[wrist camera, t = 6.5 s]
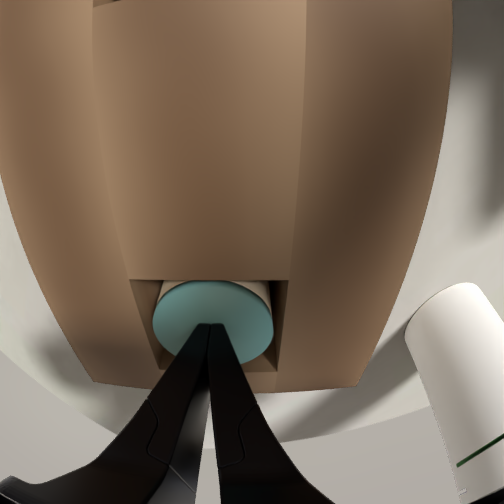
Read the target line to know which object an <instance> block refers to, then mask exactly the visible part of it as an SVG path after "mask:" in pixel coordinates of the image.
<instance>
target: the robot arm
mask: <svg viewBox="0 0 504 504" xmlns="http://www.w3.org/2000/svg"><path fill="white" fill-rule="evenodd" d="M147 399H148V400H147ZM147 399H146V400H145V401H144V403H143V404H142V406H141V407H140V408H139V410H138V411H137V413H136V414H135V415H134V417H133V418H132V419H131V420H130V422H129V423H128V424H127V425H126V426H125V428H124V429H123V430H122V431H121V432H120V433H119V434H118V435H117V437H116V438H115V439H114V440H113V441H112V442H111V443H110V444H109V445H108V446H107V448H106V449H105V450H104V451H103V452H102V453H101V454H100V455H99V456H98V457H97V458H96V459H95V460H94V461H92V462H91V463H89V464H87V465H86V466H84V467H81V468H79V469H77V470H75V471H72V472H70V473H67V474H65V475H62V476H60V477H58V478H55V479H53V480H50V481H48V482H44V483H41V484H29V483H27V482H24V481H22V480H20V479H18V478H16V477H14V476H9V477H7V478H6V479H4V480H3V481H1V482H0V504H195V498H196V491H197V483H198V476H199V469H200V462H201V455H202V448H203V441H204V435H205V428H206V421H207V415H208V408H209V402H210V400H211V411H212V421H213V431H214V441H215V449H216V459H217V467H218V474H219V484H220V498H221V504H335V503H334V502H332V501H331V500H330V499H329V498H327V497H326V496H325V495H324V494H322V493H321V492H320V491H319V490H317V489H316V488H315V487H314V486H313V485H312V484H311V483H309V482H308V481H307V480H306V478H304V476H303V475H302V474H301V473H300V471H299V470H298V469H297V468H296V466H295V465H294V464H293V462H292V461H291V459H290V458H289V456H288V455H287V454H286V452H285V451H284V449H283V448H282V446H281V445H280V443H279V442H278V440H277V439H276V437H275V436H274V434H273V432H272V431H271V429H270V427H269V426H268V424H267V422H266V420H265V418H264V416H263V414H262V412H261V410H260V407H259V405H258V404H257V401H256V399H255V396H254V394H253V392H252V390H251V387H250V385H249V383H248V380H247V378H246V376H245V374H244V371H243V369H242V367H241V364H240V362H239V359H238V357H237V355H236V352H235V350H234V348H233V345H232V343H231V340H230V338H229V335H228V333H227V331H226V328H225V326H224V324H222V323H212V324H209V323H199V324H197V326H196V327H195V329H194V330H193V331H192V333H191V334H190V336H189V337H188V339H187V340H186V342H185V343H184V345H183V346H182V347H181V349H180V350H179V352H178V353H177V355H176V356H175V358H174V359H173V361H172V362H171V363H170V365H169V366H168V368H167V369H166V371H165V372H164V374H163V375H162V377H161V378H160V379H159V381H158V382H157V384H156V385H155V387H154V388H153V390H152V391H151V393H150V394H149V396H148V397H147ZM4 495H5V496H4ZM11 499H12V500H11ZM13 500H14V501H13ZM15 501H16V502H15ZM468 504H504V486H503V487H501V488H499V489H497V490H495V491H493V492H491V493H489V494H487V495H485V496H483V497H481V498H479V499H477V500H475V501H473V502H471V503H468Z"/></svg>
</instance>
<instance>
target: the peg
mask: <svg viewBox="0 0 504 504" xmlns="http://www.w3.org/2000/svg"><path fill="white" fill-rule="evenodd" d="M199 323H209V324H212V323H222V324H224V326H225V328H226V331H227V333H228V335H229V338H230V340H231V343H232V345H233V348H234V350H235V352H236V355H237V357H238V359H239V362H240V364H243V363H245V362H248V361H250V360H252V359H254V358H256V357H257V356H259V355H260V354H261V353H263V352H264V351H265V350H266V348H267V347H268V346H269V344H270V342H271V340H272V337H273V321H272V311H271V301H270V291H269V281H268V280H164V282H163V285H162V288H161V292H160V295H159V298H158V302H157V305H156V309H155V312H154V316H153V330H154V333H155V335H156V337H157V339H158V341H159V342H160V343H161V344H162V346H163V347H164V348H166V349H167V350H168V351H169V352H170V353H172V354H173V355H175V356H176V355H177V353H178V352H179V350H180V349H181V347H182V346H183V345H184V343H185V342H186V340H187V339H188V337H189V336H190V334H191V333H192V331H193V330H194V329H195V327H196V326H197V324H199Z"/></svg>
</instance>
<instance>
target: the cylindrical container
mask: <svg viewBox="0 0 504 504" xmlns="http://www.w3.org/2000/svg"><path fill="white" fill-rule="evenodd" d="M405 342H406V344H407V346H408V349H409V351H410V353H411V356H412V358H413V360H414V363H415V365H416V368H417V370H418V373H419V375H420V378H421V380H422V383H423V385H424V388H425V391H426V393H427V396H428V399H429V401H430V404H431V407H432V409H433V412H434V415H435V418H436V421H437V423H438V427H439V429H440V432H441V435H442V438H443V442H444V445H445V447H446V451H447V454H448V458H449V461H450V464H451V468H452V471H453V475H454V479H455V482H456V486H457V490H458V491H461V490H463V489H465V488H466V490H467V491H466V492H465V493H463V494H460V495H459V498H460V502H461V504H468V503H471V502H473V501H475V500H477V499H479V498H481V497H483V496H485V495H487V494H489V493H491V492H493V491H495V490H497V489H499V488H501V487H503V486H504V323H503V322H502V320H501V319H500V317H499V316H498V314H497V313H496V311H495V310H494V308H493V307H492V305H491V304H490V302H489V301H488V300H487V298H486V297H485V295H484V294H483V293H482V291H481V290H480V289H479V288H478V287H477V286H476V285H475V284H472V283H459V284H456V285H452V286H450V287H448V288H446V289H444V290H442V291H440V292H439V293H437V294H435V295H434V296H433V297H431V298H430V299H429V300H428V301H426V302H425V303H424V304H423V305H422V306H421V307H420V308H419V309H418V310H417V312H416V313H415V314H414V315H413V317H412V318H411V320H410V321H409V323H408V325H407V328H406V330H405Z"/></svg>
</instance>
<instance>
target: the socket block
mask: <svg viewBox="0 0 504 504" xmlns="http://www.w3.org/2000/svg"><path fill="white" fill-rule="evenodd" d="M452 39H453V11H452V0H0V175H1V179H2V183H3V186H4V190H5V194H6V197H7V201H8V204H9V207H10V211H11V214H12V217H13V220H14V223H15V226H16V229H17V232H18V234H19V237H20V240H21V243H22V245H23V248H24V251H25V253H26V256H27V258H28V261H29V263H30V265H31V268H32V270H33V272H34V275H35V277H36V279H37V281H38V284H39V286H40V288H41V290H42V292H43V294H44V297H45V299H46V301H47V303H48V305H49V307H50V309H51V311H52V313H53V314H54V316H55V318H56V320H57V322H58V324H59V326H60V328H61V329H62V331H63V333H64V335H65V337H66V338H67V340H68V342H69V344H70V345H71V347H72V349H73V350H74V352H75V354H76V355H77V357H78V358H79V360H80V362H81V363H82V365H83V366H84V368H85V370H86V371H87V373H88V374H89V376H90V377H91V379H92V380H93V382H98V383H105V384H112V385H119V386H126V387H135V388H144V389H153V388H154V387H155V385H156V384H157V382H158V381H159V379H160V378H161V377H162V375H163V374H164V372H165V371H166V369H167V368H168V366H169V365H170V363H171V362H172V361H173V359H174V358H175V355H173V354H172V353H170V352H169V351H168V350H167V349H166V348H164V347H163V346H162V344H161V343H160V342H159V341H158V339H157V337H156V335H155V333H154V330H153V316H154V312H155V309H156V305H157V302H158V298H159V295H160V292H161V288H162V285H163V282H164V280H268V281H269V291H270V301H271V311H272V321H273V337H272V340H271V342H270V344H269V346H268V347H267V348H266V350H265V351H264V352H263V353H261V354H260V355H259V356H257V357H256V358H254V359H252V360H250V361H248V362H245V363H243V364H241V367H242V369H243V371H244V374H245V376H246V378H247V380H248V383H249V385H250V387H251V390H252V392H253V393H282V392H299V391H313V390H325V389H335V388H344V387H352V386H356V385H357V383H358V382H359V380H360V378H361V376H362V374H363V372H364V370H365V368H366V366H367V364H368V362H369V360H370V358H371V356H372V354H373V352H374V349H375V347H376V345H377V343H378V341H379V339H380V336H381V334H382V332H383V330H384V327H385V325H386V323H387V321H388V318H389V316H390V313H391V311H392V309H393V306H394V304H395V301H396V299H397V296H398V294H399V291H400V288H401V286H402V283H403V280H404V278H405V275H406V272H407V269H408V267H409V264H410V261H411V258H412V255H413V252H414V249H415V246H416V243H417V239H418V236H419V233H420V230H421V226H422V223H423V220H424V216H425V212H426V209H427V205H428V201H429V197H430V194H431V190H432V185H433V181H434V177H435V172H436V168H437V163H438V158H439V153H440V148H441V143H442V137H443V131H444V125H445V119H446V112H447V104H448V96H449V87H450V76H451V62H452Z"/></svg>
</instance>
